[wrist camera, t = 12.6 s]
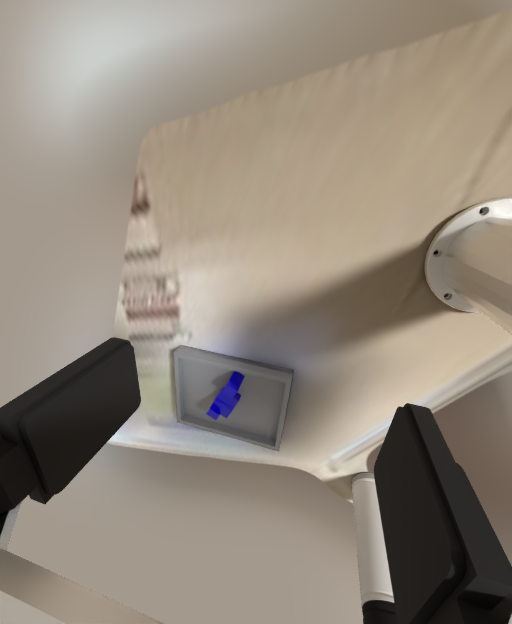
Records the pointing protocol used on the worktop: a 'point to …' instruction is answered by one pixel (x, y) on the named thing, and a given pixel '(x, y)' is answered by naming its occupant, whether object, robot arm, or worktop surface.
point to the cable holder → (226, 397)
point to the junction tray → (254, 392)
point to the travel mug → (372, 554)
